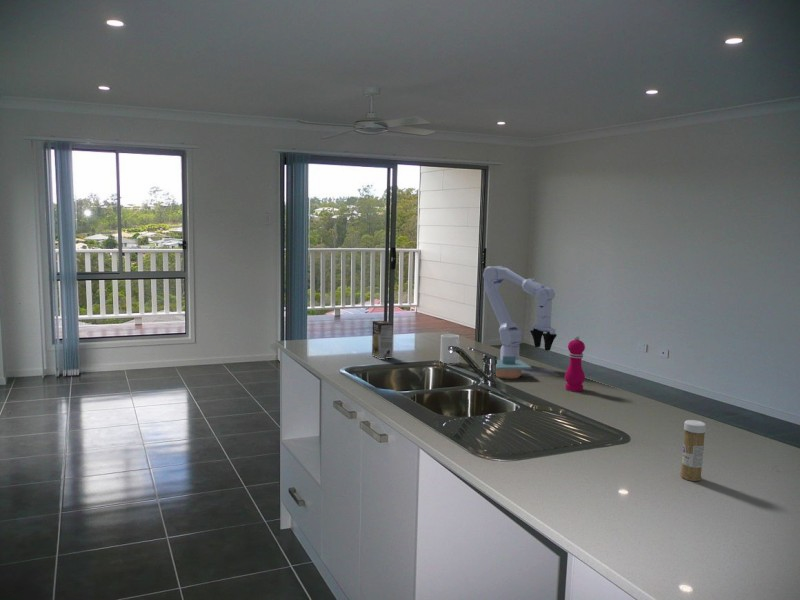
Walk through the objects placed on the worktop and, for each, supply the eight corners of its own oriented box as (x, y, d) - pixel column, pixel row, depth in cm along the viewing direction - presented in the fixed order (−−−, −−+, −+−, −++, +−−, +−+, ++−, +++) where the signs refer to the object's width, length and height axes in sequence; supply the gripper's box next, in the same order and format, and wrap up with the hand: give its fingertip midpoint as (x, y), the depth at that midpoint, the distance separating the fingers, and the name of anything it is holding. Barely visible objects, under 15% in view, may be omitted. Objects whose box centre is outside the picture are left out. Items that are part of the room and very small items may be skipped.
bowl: (490, 373, 250) (491, 362, 250) (515, 373, 252) (515, 362, 251) (498, 379, 240) (498, 368, 239) (523, 379, 241) (524, 368, 241)
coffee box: (371, 356, 281) (372, 320, 279) (384, 355, 283) (385, 320, 282) (379, 359, 273) (380, 323, 271) (392, 358, 275) (393, 323, 274)
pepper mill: (582, 387, 231) (585, 334, 229) (586, 392, 224) (589, 337, 222) (562, 386, 232) (565, 333, 229) (565, 391, 224) (568, 337, 222)
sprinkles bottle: (676, 474, 147) (680, 419, 146) (694, 474, 147) (698, 419, 146) (687, 482, 142) (691, 425, 141) (705, 481, 143) (710, 425, 141)
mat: (509, 368, 261) (509, 367, 261) (546, 368, 264) (546, 367, 263) (522, 377, 246) (522, 376, 246) (560, 376, 248) (560, 375, 248)
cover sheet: (486, 361, 251) (487, 352, 251) (519, 361, 253) (520, 352, 253) (496, 369, 238) (496, 359, 237) (531, 369, 239) (532, 359, 239)
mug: (466, 365, 266) (467, 337, 264) (449, 366, 262) (450, 338, 261) (452, 360, 276) (453, 333, 275) (436, 361, 273) (436, 334, 271)
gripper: (526, 314, 261) (524, 345, 262) (545, 318, 247) (543, 352, 249) (540, 313, 263) (539, 345, 265) (560, 318, 250) (558, 351, 251)
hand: (542, 348), depth 257 cm, fingers open, 7 cm apart
